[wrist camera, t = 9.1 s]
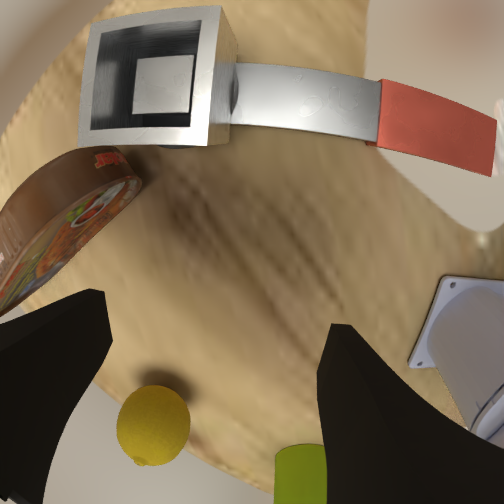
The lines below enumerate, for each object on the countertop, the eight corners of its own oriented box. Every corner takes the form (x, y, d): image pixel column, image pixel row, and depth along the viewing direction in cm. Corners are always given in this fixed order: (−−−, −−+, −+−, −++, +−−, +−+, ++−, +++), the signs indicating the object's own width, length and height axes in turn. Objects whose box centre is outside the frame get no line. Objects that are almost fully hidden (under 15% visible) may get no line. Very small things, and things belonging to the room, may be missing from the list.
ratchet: (479, 103, 13) (521, 101, 9) (470, 189, 15) (510, 206, 11) (145, 51, 14) (110, 32, 10) (137, 147, 16) (99, 152, 12)
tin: (43, 288, 20) (-20, 343, 13) (23, 258, 20) (-45, 306, 12) (166, 173, 16) (83, 207, 9) (137, 132, 16) (41, 137, 8)
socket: (238, 45, 12) (221, 5, 7) (228, 143, 14) (206, 145, 9) (140, 49, 12) (91, 23, 8) (132, 141, 14) (77, 146, 10)
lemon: (137, 357, 22) (97, 432, 14) (203, 377, 22) (179, 461, 14) (137, 397, 24) (107, 465, 16) (195, 415, 24) (175, 488, 17)
